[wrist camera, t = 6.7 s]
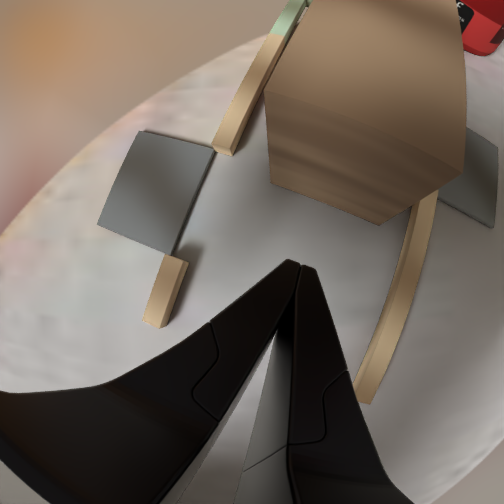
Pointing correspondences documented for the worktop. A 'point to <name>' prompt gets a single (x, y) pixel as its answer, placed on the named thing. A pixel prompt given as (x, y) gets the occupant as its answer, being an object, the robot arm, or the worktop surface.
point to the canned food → (481, 25)
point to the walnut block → (369, 105)
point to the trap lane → (225, 141)
